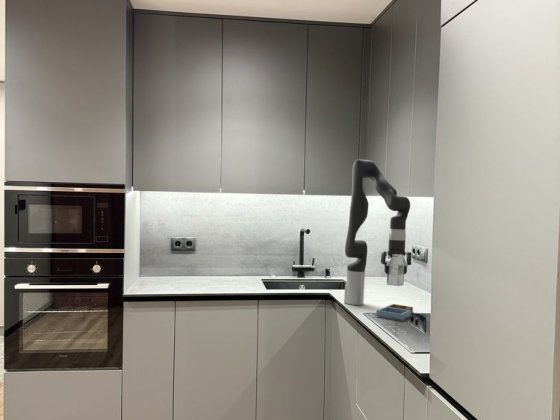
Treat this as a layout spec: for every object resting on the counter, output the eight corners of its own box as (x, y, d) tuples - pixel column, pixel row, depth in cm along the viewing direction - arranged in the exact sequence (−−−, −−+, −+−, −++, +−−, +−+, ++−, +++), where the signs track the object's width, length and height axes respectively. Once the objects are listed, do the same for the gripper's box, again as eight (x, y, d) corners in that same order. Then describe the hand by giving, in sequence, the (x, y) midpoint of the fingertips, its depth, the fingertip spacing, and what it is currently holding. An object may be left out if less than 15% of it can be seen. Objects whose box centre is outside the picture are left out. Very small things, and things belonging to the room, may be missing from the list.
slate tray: (376, 316, 213) (376, 310, 213) (386, 312, 222) (386, 306, 222) (401, 321, 206) (401, 314, 206) (410, 317, 216) (410, 310, 216)
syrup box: (393, 284, 218) (393, 253, 219) (404, 285, 214) (404, 254, 214) (386, 284, 214) (387, 253, 215) (397, 286, 210) (398, 254, 210)
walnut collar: (385, 311, 225) (386, 306, 225) (393, 308, 233) (393, 303, 233) (405, 315, 219) (406, 310, 219) (412, 312, 227) (412, 307, 227)
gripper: (407, 239, 219) (406, 273, 219) (379, 237, 217) (377, 272, 217) (415, 240, 212) (413, 275, 212) (386, 239, 209) (384, 274, 209)
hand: (395, 273), depth 214 cm, fingers closed on syrup box, 8 cm apart
